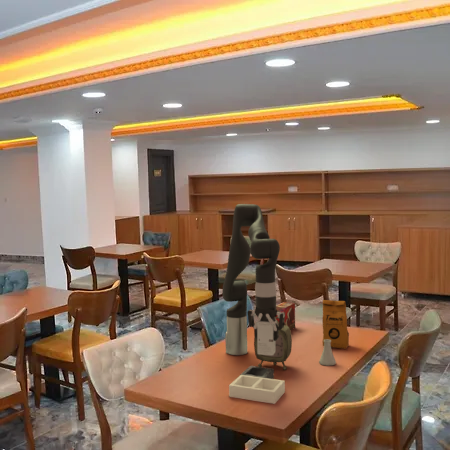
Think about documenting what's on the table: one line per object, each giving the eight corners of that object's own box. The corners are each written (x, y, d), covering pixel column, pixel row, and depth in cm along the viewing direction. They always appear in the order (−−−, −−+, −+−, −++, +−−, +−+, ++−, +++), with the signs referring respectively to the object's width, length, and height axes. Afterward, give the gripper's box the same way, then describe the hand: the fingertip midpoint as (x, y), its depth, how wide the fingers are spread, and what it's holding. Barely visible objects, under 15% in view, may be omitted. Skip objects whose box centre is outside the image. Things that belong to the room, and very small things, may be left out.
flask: (336, 366, 224) (336, 343, 223) (318, 365, 225) (318, 342, 224) (336, 360, 231) (335, 338, 230) (319, 360, 232) (318, 337, 231)
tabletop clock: (254, 368, 224) (253, 310, 222) (260, 361, 232) (259, 305, 230) (288, 372, 219) (287, 312, 217) (293, 364, 227) (292, 307, 225)
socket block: (240, 383, 208) (240, 374, 207) (250, 373, 218) (250, 365, 217) (264, 386, 203) (264, 378, 203) (273, 377, 213) (273, 368, 213)
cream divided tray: (229, 396, 195) (228, 385, 195) (241, 385, 205) (241, 374, 205) (274, 403, 188) (274, 392, 187) (284, 391, 198) (284, 380, 198)
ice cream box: (284, 326, 288) (284, 302, 286) (295, 327, 284) (294, 303, 283) (266, 335, 271) (265, 310, 270) (277, 337, 267) (277, 311, 266)
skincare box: (257, 354, 193) (256, 321, 192) (260, 350, 197) (259, 318, 196) (273, 355, 191) (272, 322, 190) (276, 351, 195) (275, 319, 194)
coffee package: (347, 350, 244) (346, 303, 242) (320, 348, 248) (319, 301, 247) (350, 344, 253) (350, 299, 251) (324, 342, 258) (324, 297, 256)
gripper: (243, 294, 192) (244, 340, 193) (281, 297, 186) (282, 344, 187) (251, 290, 198) (251, 334, 200) (288, 293, 192) (288, 338, 194)
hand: (266, 339), depth 193 cm, fingers closed on skincare box, 6 cm apart
